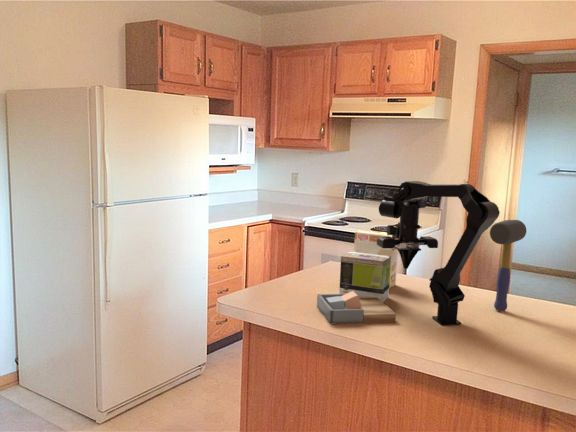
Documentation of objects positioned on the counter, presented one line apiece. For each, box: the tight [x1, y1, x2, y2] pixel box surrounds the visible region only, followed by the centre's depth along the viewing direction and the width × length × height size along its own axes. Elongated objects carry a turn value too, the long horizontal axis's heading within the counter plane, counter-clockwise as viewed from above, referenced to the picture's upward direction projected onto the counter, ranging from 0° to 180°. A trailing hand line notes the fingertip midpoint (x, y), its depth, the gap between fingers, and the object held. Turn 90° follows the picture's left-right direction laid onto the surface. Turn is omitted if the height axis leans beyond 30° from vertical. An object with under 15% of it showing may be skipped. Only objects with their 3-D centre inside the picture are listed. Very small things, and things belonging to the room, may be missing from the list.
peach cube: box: [340, 291, 362, 309], centre depth 165 cm, size 4×4×4 cm
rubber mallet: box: [489, 219, 527, 313], centre depth 172 cm, size 12×8×30 cm, turn 133°
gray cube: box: [326, 296, 345, 310], centre depth 164 cm, size 4×4×4 cm
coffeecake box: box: [353, 229, 399, 289], centre depth 200 cm, size 15×7×20 cm, turn 58°
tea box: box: [338, 251, 391, 303], centre depth 182 cm, size 15×10×15 cm, turn 65°
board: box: [358, 298, 397, 324], centre depth 166 cm, size 16×10×2 cm, turn 11°
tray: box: [316, 293, 364, 325], centre depth 164 cm, size 16×10×4 cm, turn 11°
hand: (405, 268), depth 172 cm, fingers closed
